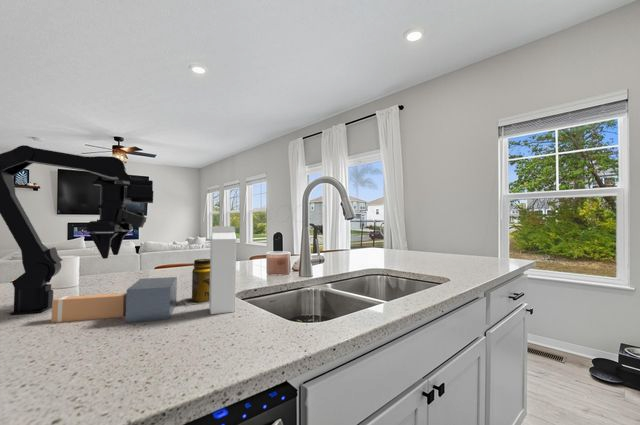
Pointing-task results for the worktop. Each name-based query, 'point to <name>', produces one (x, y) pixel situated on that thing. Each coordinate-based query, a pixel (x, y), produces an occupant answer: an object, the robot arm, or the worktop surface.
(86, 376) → the worktop surface
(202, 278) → the condiment
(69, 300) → the tan banded carton
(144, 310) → the gray block
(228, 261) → the milk
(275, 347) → the worktop surface
